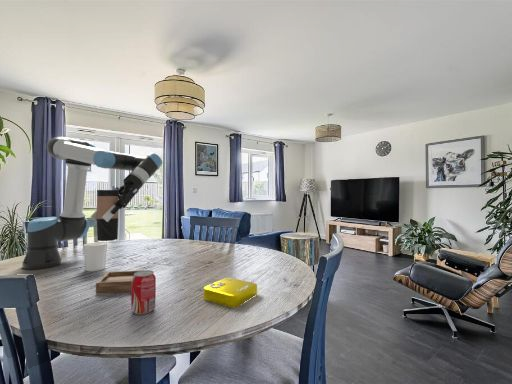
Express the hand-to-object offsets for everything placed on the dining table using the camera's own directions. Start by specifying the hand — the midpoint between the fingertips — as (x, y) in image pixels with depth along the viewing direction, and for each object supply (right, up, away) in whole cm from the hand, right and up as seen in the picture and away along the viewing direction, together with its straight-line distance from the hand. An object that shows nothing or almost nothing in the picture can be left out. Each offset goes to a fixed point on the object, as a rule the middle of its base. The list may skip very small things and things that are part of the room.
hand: (99, 219), depth 106 cm
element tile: (+53, -28, -8) cm, 60 cm away
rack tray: (+9, -26, 0) cm, 28 cm away
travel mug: (+2, -9, +3) cm, 9 cm away
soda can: (+26, -27, -21) cm, 43 cm away
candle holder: (-15, -26, +23) cm, 38 cm away
